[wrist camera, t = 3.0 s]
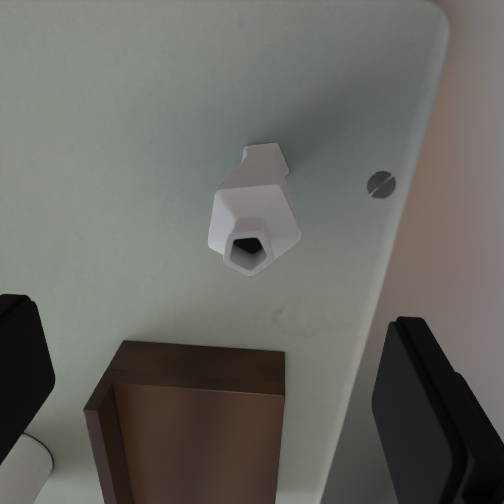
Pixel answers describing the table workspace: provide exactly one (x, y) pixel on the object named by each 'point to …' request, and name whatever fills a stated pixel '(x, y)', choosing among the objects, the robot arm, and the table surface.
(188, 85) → the table surface
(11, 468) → the mug
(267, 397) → the wooden display stand
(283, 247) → the perfume bottle
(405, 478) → the robot arm
